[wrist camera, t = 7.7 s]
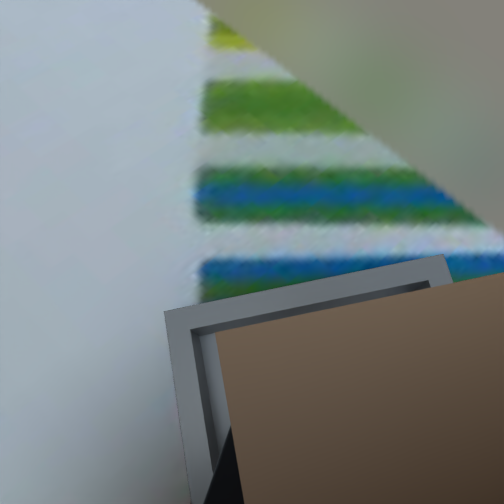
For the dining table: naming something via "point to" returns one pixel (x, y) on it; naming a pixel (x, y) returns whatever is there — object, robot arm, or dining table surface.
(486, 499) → the block
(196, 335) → the tray
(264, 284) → the dining table surface
